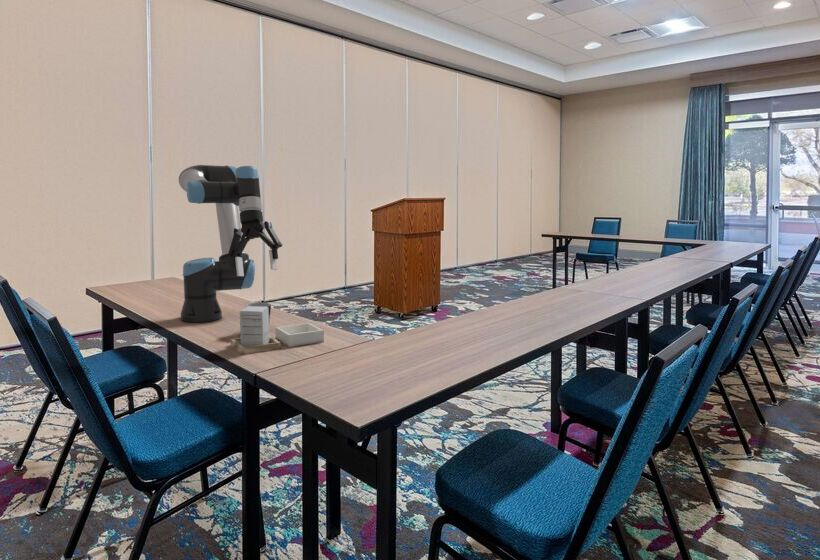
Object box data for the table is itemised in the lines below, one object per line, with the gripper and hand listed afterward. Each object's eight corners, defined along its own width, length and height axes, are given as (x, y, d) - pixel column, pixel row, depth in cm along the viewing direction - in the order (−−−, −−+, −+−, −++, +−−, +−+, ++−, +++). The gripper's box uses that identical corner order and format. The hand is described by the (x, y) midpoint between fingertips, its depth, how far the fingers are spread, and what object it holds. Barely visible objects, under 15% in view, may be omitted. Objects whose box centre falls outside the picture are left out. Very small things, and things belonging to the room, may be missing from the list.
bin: (275, 338, 183) (275, 327, 182) (309, 333, 189) (308, 322, 189) (289, 347, 173) (288, 335, 172) (323, 341, 179) (323, 330, 179)
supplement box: (247, 343, 176) (246, 305, 174) (270, 344, 176) (269, 306, 174) (240, 349, 169) (238, 310, 167) (263, 350, 169) (262, 311, 167)
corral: (230, 345, 174) (230, 339, 174) (267, 339, 181) (267, 334, 181) (242, 354, 164) (242, 348, 164) (280, 348, 171) (280, 342, 171)
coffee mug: (265, 336, 185) (264, 308, 184) (242, 334, 187) (241, 306, 185) (279, 328, 197) (278, 301, 195) (257, 326, 198) (257, 300, 197)
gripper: (213, 217, 184) (219, 278, 182) (275, 201, 175) (282, 265, 173) (228, 220, 191) (234, 279, 189) (288, 206, 183) (295, 267, 180)
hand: (257, 272), depth 181 cm, fingers open, 13 cm apart
